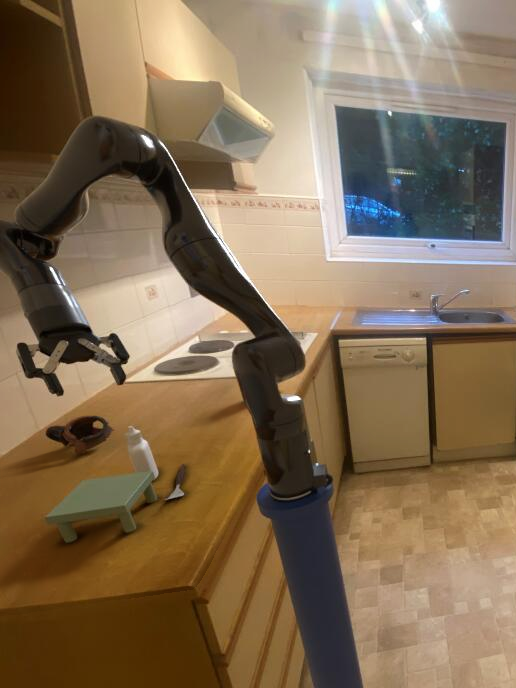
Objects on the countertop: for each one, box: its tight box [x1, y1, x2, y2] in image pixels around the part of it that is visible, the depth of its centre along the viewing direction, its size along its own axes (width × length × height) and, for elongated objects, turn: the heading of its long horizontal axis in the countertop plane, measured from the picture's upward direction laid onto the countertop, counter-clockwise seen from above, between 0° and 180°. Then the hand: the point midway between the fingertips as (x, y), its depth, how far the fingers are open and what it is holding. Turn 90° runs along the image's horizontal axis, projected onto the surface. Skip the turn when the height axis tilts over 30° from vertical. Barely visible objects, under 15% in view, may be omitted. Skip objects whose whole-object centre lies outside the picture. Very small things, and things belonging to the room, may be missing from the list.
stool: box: [44, 471, 158, 544], centre depth 79 cm, size 11×11×6 cm
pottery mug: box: [45, 415, 115, 455], centre depth 102 cm, size 12×10×8 cm
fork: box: [163, 463, 185, 501], centre depth 89 cm, size 3×16×2 cm, turn 29°
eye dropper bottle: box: [124, 425, 159, 481], centre depth 90 cm, size 4×6×12 cm
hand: (92, 388), depth 80 cm, fingers open, 8 cm apart
